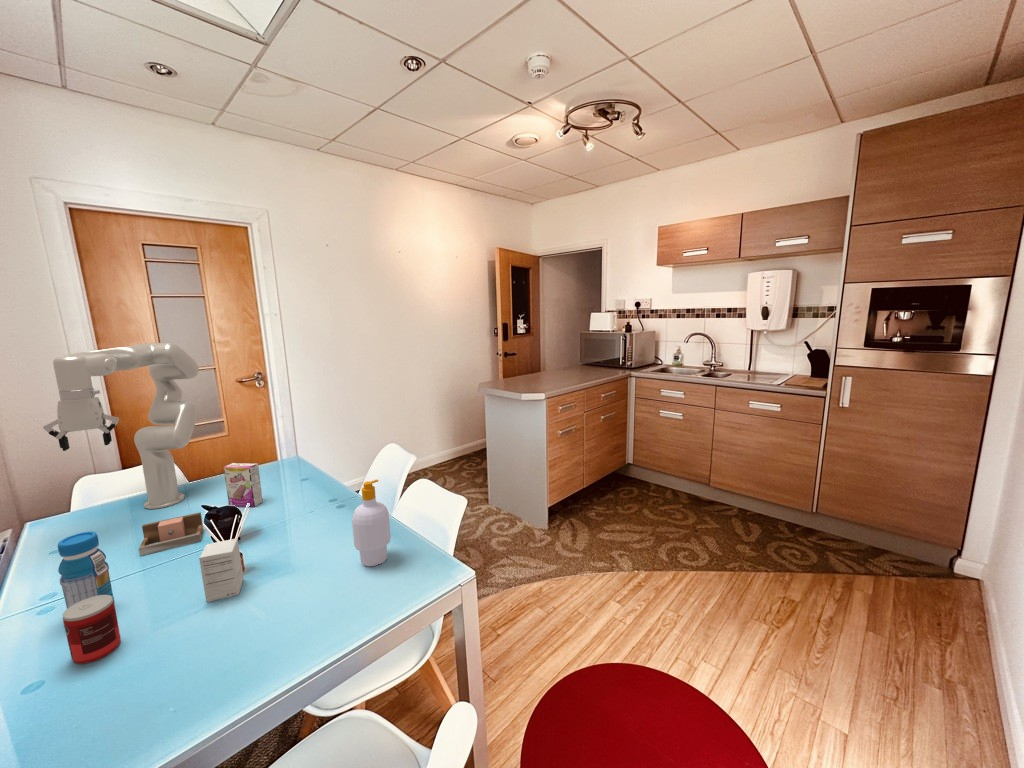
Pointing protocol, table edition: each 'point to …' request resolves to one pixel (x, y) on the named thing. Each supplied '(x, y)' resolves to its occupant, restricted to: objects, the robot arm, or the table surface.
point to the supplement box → (221, 569)
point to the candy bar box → (243, 484)
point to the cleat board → (152, 536)
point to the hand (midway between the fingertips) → (87, 447)
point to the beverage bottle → (83, 568)
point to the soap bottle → (371, 527)
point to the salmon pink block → (171, 529)
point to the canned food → (91, 628)
